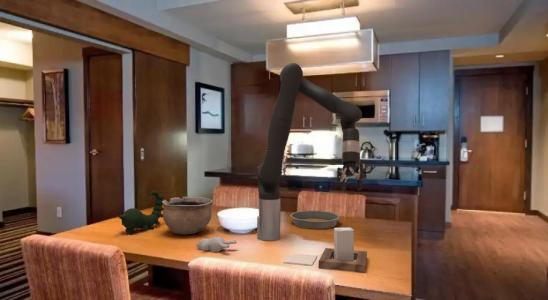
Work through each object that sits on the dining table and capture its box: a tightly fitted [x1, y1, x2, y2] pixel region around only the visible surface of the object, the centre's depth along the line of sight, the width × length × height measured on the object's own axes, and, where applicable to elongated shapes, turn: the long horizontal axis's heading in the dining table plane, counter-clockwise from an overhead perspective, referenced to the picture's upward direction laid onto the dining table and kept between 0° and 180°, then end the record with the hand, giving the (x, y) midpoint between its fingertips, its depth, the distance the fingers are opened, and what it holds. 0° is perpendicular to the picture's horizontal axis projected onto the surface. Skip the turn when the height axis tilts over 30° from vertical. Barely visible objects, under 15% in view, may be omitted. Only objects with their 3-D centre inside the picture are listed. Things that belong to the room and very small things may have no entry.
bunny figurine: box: [195, 235, 238, 253], centre depth 146 cm, size 10×5×15 cm
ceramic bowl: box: [162, 196, 213, 236], centre depth 172 cm, size 22×22×15 cm
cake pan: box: [289, 210, 341, 230], centre depth 190 cm, size 25×25×4 cm
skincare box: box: [333, 227, 355, 261], centre depth 131 cm, size 6×4×12 cm
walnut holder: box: [318, 247, 368, 274], centre depth 131 cm, size 15×15×2 cm
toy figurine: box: [117, 190, 165, 235], centre depth 176 cm, size 9×19×25 cm
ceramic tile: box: [283, 252, 318, 267], centre depth 135 cm, size 10×10×1 cm
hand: (351, 190), depth 157 cm, fingers open, 8 cm apart
